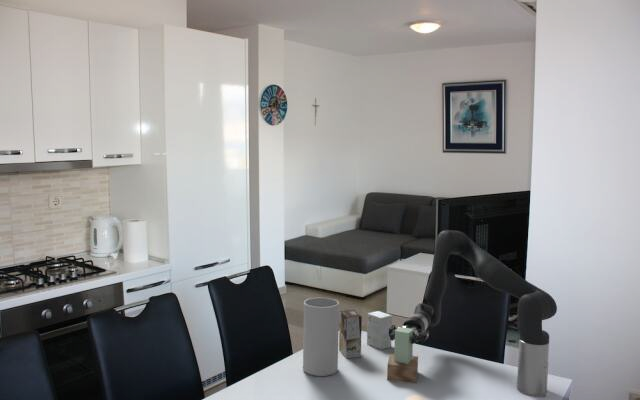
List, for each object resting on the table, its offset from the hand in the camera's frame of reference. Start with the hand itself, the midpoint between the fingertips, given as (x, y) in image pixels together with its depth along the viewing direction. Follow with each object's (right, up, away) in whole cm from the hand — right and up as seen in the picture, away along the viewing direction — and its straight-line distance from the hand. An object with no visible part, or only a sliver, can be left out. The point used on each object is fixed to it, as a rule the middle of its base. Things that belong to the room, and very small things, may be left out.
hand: (401, 339), depth 195 cm
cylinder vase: (-28, -13, +8) cm, 32 cm away
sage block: (+1, -8, +3) cm, 9 cm away
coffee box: (-17, -12, +24) cm, 32 cm away
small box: (-4, -11, +34) cm, 36 cm away
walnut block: (+1, -14, +3) cm, 14 cm away
